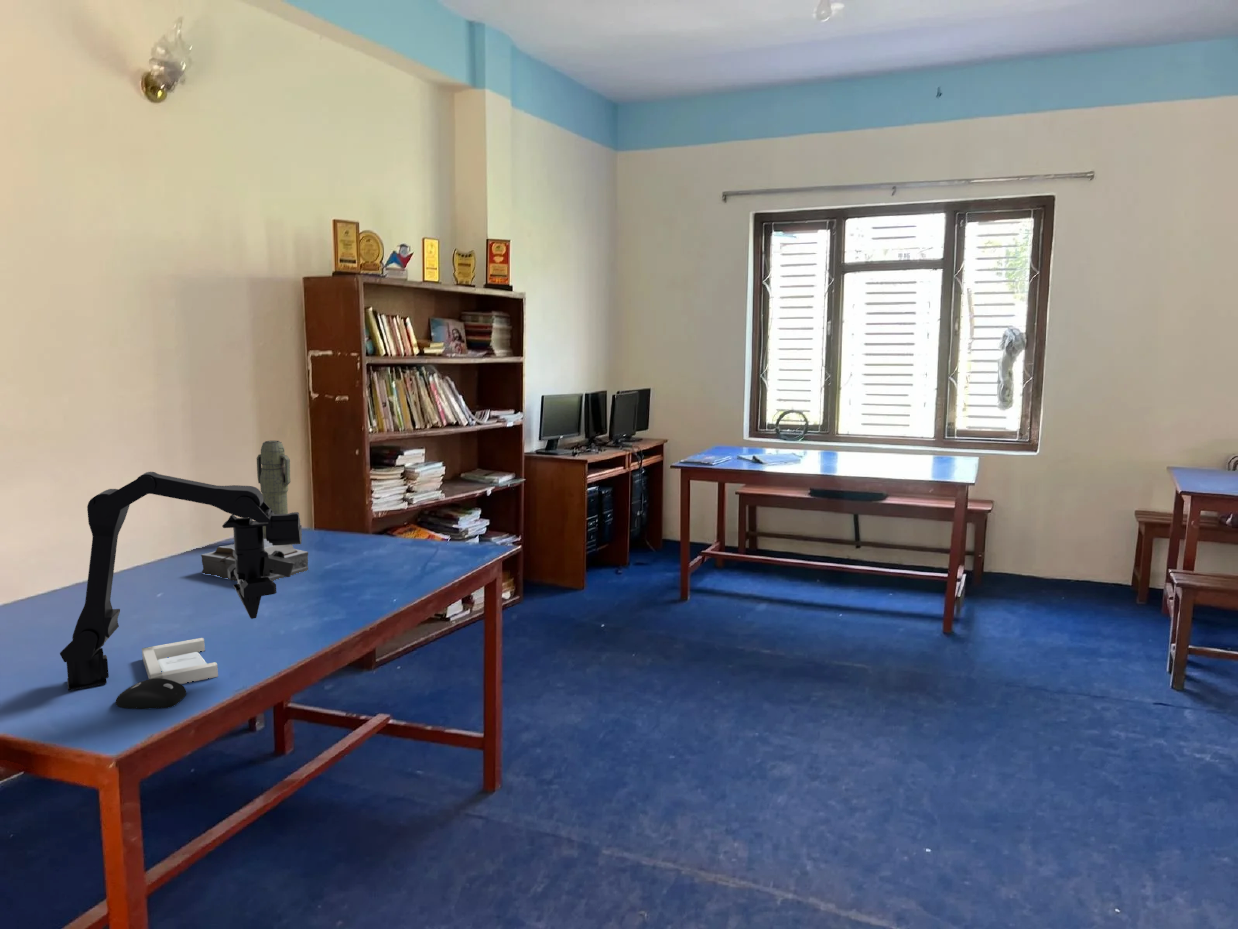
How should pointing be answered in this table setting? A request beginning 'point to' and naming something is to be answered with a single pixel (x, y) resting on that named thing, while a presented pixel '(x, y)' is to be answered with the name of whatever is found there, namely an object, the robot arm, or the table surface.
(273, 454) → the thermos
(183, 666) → the external hard drive
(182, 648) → the dock
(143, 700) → the computer mouse
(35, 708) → the table surface
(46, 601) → the table surface
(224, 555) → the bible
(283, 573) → the robot arm
